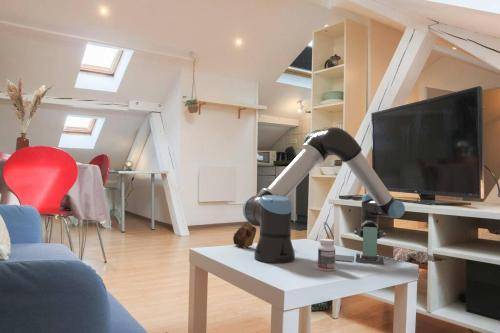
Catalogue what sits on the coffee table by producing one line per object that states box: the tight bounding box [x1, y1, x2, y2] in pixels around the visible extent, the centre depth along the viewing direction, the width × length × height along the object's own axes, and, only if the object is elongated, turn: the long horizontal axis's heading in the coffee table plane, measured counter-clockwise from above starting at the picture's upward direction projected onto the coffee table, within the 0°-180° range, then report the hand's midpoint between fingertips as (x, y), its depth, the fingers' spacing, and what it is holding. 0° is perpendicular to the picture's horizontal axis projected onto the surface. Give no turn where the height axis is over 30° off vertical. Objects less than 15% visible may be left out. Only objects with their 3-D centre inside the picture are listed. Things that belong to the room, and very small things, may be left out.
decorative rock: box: [232, 221, 257, 248], centre depth 163 cm, size 12×6×11 cm, turn 34°
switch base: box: [355, 253, 385, 266], centre depth 140 cm, size 10×4×3 cm, turn 72°
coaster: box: [335, 254, 354, 263], centre depth 145 cm, size 10×10×1 cm
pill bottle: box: [317, 238, 336, 272], centre depth 127 cm, size 6×6×10 cm
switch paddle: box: [360, 227, 379, 260], centre depth 140 cm, size 6×1×12 cm, turn 72°
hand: (369, 237), depth 144 cm, fingers closed
